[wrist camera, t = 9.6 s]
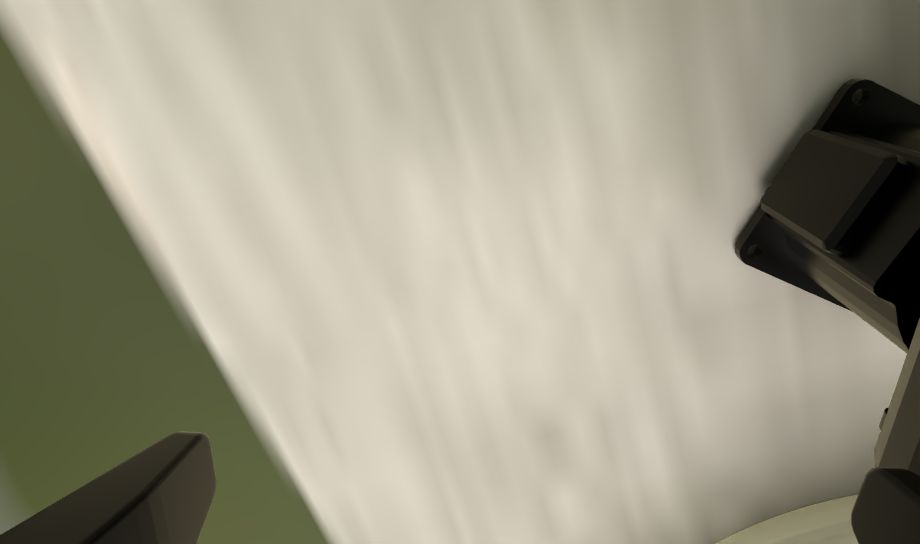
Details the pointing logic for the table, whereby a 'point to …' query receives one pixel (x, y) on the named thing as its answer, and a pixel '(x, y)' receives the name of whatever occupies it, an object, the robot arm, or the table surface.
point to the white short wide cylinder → (803, 526)
